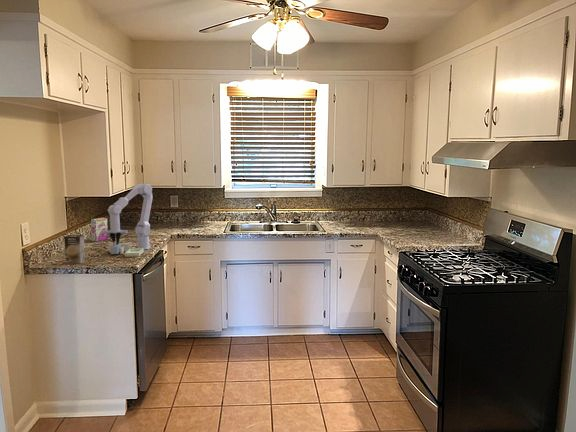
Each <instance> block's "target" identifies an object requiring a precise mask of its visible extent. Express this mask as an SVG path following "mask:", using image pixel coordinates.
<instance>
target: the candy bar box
mask: <svg viewBox="0 0 576 432" xmlns="http://www.w3.org/2000/svg"><path fill="white" fill-rule="evenodd" d="M108 224H109V223H108V218H107V217H100V218H99V217H98V218H91V219H90V228H91V233H90V234H91V242H101V241H106V240H109V234H103V231H104V230H109V229H108Z"/></svg>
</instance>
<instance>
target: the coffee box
mask: <svg viewBox="0 0 576 432" xmlns="http://www.w3.org/2000/svg"><path fill="white" fill-rule="evenodd" d="M64 252H65V264H83V263H85V261H86V260H85V259H86V256H85V254H86V252H85V236H84V234H68V235H66V236H64Z"/></svg>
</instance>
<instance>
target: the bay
mask: <svg viewBox="0 0 576 432" xmlns="http://www.w3.org/2000/svg"><path fill="white" fill-rule="evenodd" d="M119 244H121V246H122V247H121V248H120V252H119V254H120V255H121V254H124V253H125V252H127V251H128V250H129V249H130V248H131V244H130V242H129V243H126V242H125V243H122V242H121V243H120V242H119ZM113 245H114V244H113V243H108V245H107V246H108V252H109V253H111V247H112V246H113ZM124 251H125V252H124Z"/></svg>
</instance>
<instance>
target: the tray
mask: <svg viewBox="0 0 576 432" xmlns="http://www.w3.org/2000/svg"><path fill="white" fill-rule="evenodd" d="M144 250H145V249H144V248H138V247H135V248H133V247H130V249H129V250H128V251H125V252H124V258H139V257H140V256H141V255H142V254H143V253H144V252H145V251H144Z"/></svg>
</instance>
